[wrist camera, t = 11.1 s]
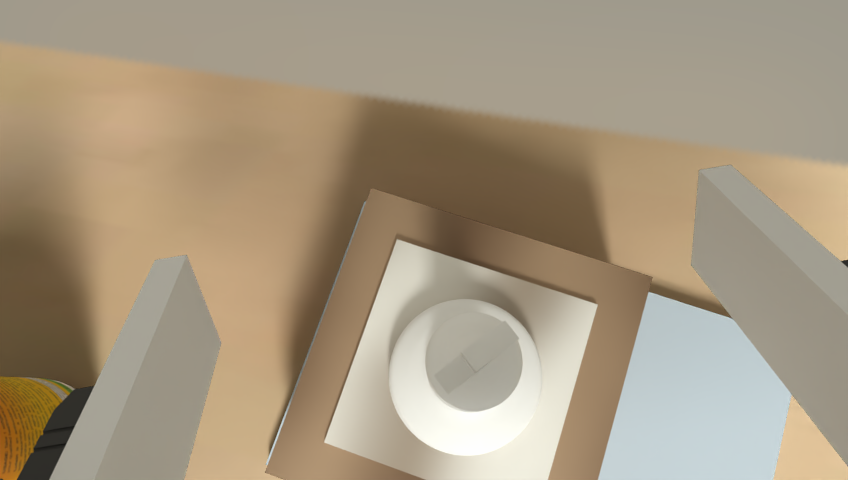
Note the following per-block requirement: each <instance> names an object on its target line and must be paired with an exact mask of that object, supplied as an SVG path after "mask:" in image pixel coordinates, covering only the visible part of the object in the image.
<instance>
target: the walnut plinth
mask: <svg viewBox="0 0 848 480" xmlns="http://www.w3.org/2000/svg"><path fill="white" fill-rule="evenodd" d="M651 281H652V277H651V276H647V275H644V274H641V273H638V272H635V271H632V270H629V269H625V268H622V267H619V266H616V265H613V264H610V263H607V262H603V261H600V260H597V259H594V258H591V257H588V256H584V255H581V254H578V253H575V252H572V251H569V250H566V249H562V248H559V247H556V246H553V245H550V244H547V243H543V242H540V241H537V240H534V239H531V238H528V237H525V236H521V235H518V234H515V233H512V232H509V231H506V230H503V229H499V228H496V227H493V226H490V225H487V224H484V223H480V222H477V221H474V220H471V219H468V218H465V217H462V216H458V215H455V214H452V213H449V212H446V211H443V210H439V209H436V208H433V207H430V206H427V205H424V204H421V203H417V202H414V201H411V200H408V199H405V198H402V197H399V196H395V195H392V194H389V193H386V192H383V191H380V190H376V189H373V188H371V190H370V193H369V195H368V198H367V201H366V203H365V206H364V209H363V212H362V214H361V217H360V220H359V222H358V225H357V228H356V230H355V233H354V236H353V238H352V241H351V244H350V246H349V249H348V252H347V254H346V257H345V260H344V262H343V265H342V268H341V270H340V273H339V276H338V278H337V281H336V284H335V286H334V289H333V292H332V294H331V297H330V300H329V302H328V305H327V308H326V310H325V313H324V316H323V318H322V321H321V324H320V326H319V329H318V332H317V334H316V337H315V340H314V342H313V345H312V348H311V350H310V353H309V356H308V358H307V361H306V364H305V366H304V369H303V372H302V374H301V377H300V380H299V383H298V385H297V388H296V391H295V393H294V396H293V399H292V401H291V404H290V407H289V409H288V412H287V415H286V417H285V420H284V423H283V425H282V428H281V431H280V433H279V436H278V439H277V441H276V444H275V447H274V449H273V452H272V455H271V457H270V460H269V463H268V465H267V468H266V471H265V473H268V474H270V475H273V476H276V477H278V478H281V479H284V480H598V477H599V474H600V470H601V466H602V463H603V459H604V455H605V452H606V448H607V444H608V440H609V437H610V433H611V429H612V426H613V422H614V418H615V414H616V411H617V407H618V403H619V400H620V396H621V392H622V389H623V385H624V381H625V377H626V374H627V370H628V366H629V363H630V359H631V355H632V352H633V348H634V344H635V340H636V337H637V333H638V329H639V326H640V322H641V318H642V314H643V311H644V307H645V303H646V300H647V296H648V292H649V289H650V285H651ZM457 299H473V300H480V301H484V302H487V303H490V304H493V305H495V306H498V307H500V308H501V309H503V310H505V311H507V312H508V313H509V314H511V315H512V316H513V317H515V318H516V319H517V320H518V321H519V322H520V323H521V324H522V325H523V327H524V328H525V329H526V330H527V332H528V333H529V335H530V336H531V338H532V340H533V342H534V344H535V346H536V348H537V351H538V354H539V357H540V361H541V367H542V390H541V396H540V400H539V403H538V406H537V408H536V411H535V413H534V415H533V417H532V419H531V420H530V422H529V423H528V425H527V426H526V427H525V428H524V430H523V431H522V432H521V433H520V434H519V435H518V436H517V437H516V438H514V439H513V440H512V441H511V442H509V443H508V444H506V445H504V446H503V447H501V448H499V449H496V450H494V451H491V452H488V453H485V454H480V455H472V456H461V455H453V454H448V453H445V452H442V451H439V450H437V449H434V448H432V447H430V446H429V445H427V444H425V443H424V442H422V441H421V440H420V439H418V438H417V437H416V436H415V435H414V434H413V433H412V432H411V431H410V430H409V429H408V428H407V427H406V425H405V424H404V423H403V421H402V420H401V418H400V417H399V415H398V413H397V411H396V409H395V406H394V404H393V401H392V397H391V393H390V387H389V365H390V360H391V355H392V352H393V349H394V347H395V344H396V342H397V340H398V338H399V337H400V335H401V333H402V332H403V330H404V329H405V328H406V327H407V325H408V324H409V323H410V322H411V321H412V320H413V319H414V318H415V317H417V316H418V315H419V314H420V313H422V312H423V311H425V310H426V309H428V308H430V307H432V306H434V305H437V304H439V303H442V302H446V301H451V300H457Z"/></svg>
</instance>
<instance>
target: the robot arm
mask: <svg viewBox="0 0 848 480" xmlns="http://www.w3.org/2000/svg"><path fill="white" fill-rule="evenodd" d="M691 266H692V267H693V268H694V270H695V271H696V272H697V273H698V275H699V276H700V277H701V279H702V280H703V281H704V282H705V284H706V285H707V286H708V288H709V289H710V290H711V291H712V293H713V294H714V295H715V297H716V298H717V299H718V300H719V302H720V303H721V304H722V306H723V307H724V308H725V309H726V311H727V312H728V313H729V314H730V316H731V317H732V318H733V320H734V321H735V322H736V323H737V325H738V326H739V327H740V329H741V330H742V331H743V332H744V334H745V335H746V336H747V338H748V339H749V340H750V341H751V343H752V344H753V345H754V347H755V348H756V349H757V350H758V352H759V353H760V354H761V356H762V357H763V358H764V359H765V361H766V362H767V363H768V365H769V366H770V367H771V368H772V370H773V371H774V372H775V374H776V375H777V376H778V377H779V379H780V380H781V381H782V383H783V384H784V385H785V386H786V388H787V389H788V390H789V392H790V393H791V394H792V395H793V397H794V398H795V399H796V400H797V402H798V403H799V404H800V406H801V407H802V408H803V409H804V411H805V412H806V413H807V415H808V416H809V417H810V418H811V420H812V421H813V422H814V424H815V425H816V426H817V427H818V429H819V430H820V431H821V433H822V434H823V435H824V436H825V438H826V439H827V440H828V442H829V443H830V444H831V445H832V447H833V448H834V449H835V451H836V452H837V453H838V454H839V456H840V457H841V458H842V460H843V461H844V462H845V463H846V465H847V466H848V260H844V261H840V260H839V259H838V258H836V257H835V256H834V255H833V254H832V253H831V252H830V251H828V250H827V249H826V248H825V247H824V246H823V245H822V244H820V243H819V242H818V241H817V240H816V239H815V238H814V237H812V236H811V235H810V234H809V233H808V232H807V231H806V230H804V229H803V228H802V227H801V226H800V225H799V224H798V223H796V222H795V221H794V220H793V219H792V218H791V217H790V216H789V215H787V214H786V213H785V212H784V211H783V210H782V209H781V208H779V207H778V206H777V205H776V204H775V203H774V202H773V201H771V200H770V199H769V198H768V197H767V196H766V195H765V194H763V193H762V192H761V191H760V190H759V189H758V188H757V187H755V186H754V185H753V184H752V183H751V182H750V181H749V180H747V179H746V178H745V177H744V176H743V175H742V174H741V173H739V172H738V171H737V170H736V169H735V168H734V167H733V166H732V165H727V166H720V167H714V168H708V169H702V170H699V176H698V188H697V200H696V212H695V224H694V236H693V248H692V260H691ZM220 346H221V341H220V338H219V336H218V333H217V330H216V328H215V325H214V323H213V320H212V318H211V315H210V313H209V310H208V308H207V305H206V302H205V300H204V297H203V295H202V292H201V290H200V287H199V285H198V282H197V280H196V277H195V274H194V272H193V269H192V267H191V264H190V262H189V259H188V257H187V255H183V256H177V257H171V258H165V259H159V260H155V262H154V264H153V266H152V268H151V270H150V272H149V274H148V276H147V278H146V280H145V282H144V284H143V286H142V288H141V291H140V293H139V295H138V297H137V299H136V301H135V303H134V305H133V307H132V309H131V311H130V313H129V315H128V318H127V320H126V322H125V324H124V326H123V328H122V330H121V332H120V334H119V336H118V338H117V340H116V342H115V344H114V347H113V349H112V351H111V353H110V355H109V357H108V359H107V361H106V363H105V365H104V367H103V369H102V371H101V373H100V376H99V378H98V380H97V382H96V384H95V386H92V387H86V388H80V389H74V390H73V391H72V392H71V393H70V394H69V395H68V396H67V397H66V398H65V399H64V400H63V401H62V402H61V403H60V404H59V405H58V406H57V407H56V408H55V409H54V411H53V413H52V415H51V416H50V418H49V420H48V422H47V424H46V426H45V428H44V430H43V435H40V437H39V439H38V441H37V443H36V445H35V446H34V448H33V449H34V453H31V454H30V456H29V458H28V460H27V461H26V463H25V465H24V467H23V469H22V471H21V473H20V475H19V476H18V478H17V480H184V478H185V474H186V471H187V467H188V463H189V460H190V456H191V452H192V449H193V445H194V441H195V438H196V434H197V430H198V427H199V423H200V419H201V416H202V412H203V408H204V405H205V401H206V397H207V394H208V390H209V386H210V383H211V379H212V375H213V372H214V368H215V364H216V361H217V357H218V353H219V350H220ZM0 480H3V479H1V478H0Z"/></svg>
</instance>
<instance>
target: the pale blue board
mask: <svg viewBox="0 0 848 480" xmlns="http://www.w3.org/2000/svg"><path fill="white" fill-rule="evenodd" d="M365 203H366V201H364V204H363V207H362V209H361V212H360V215H359V217H358V220H357V223H356V225H355V228H354V231H353V233H352V236H351V239H350V241H349V244H348V247H347V249H346V252H345V255H344V257H343V260H342V263H341V265H340V268H339V271H338V273H337V276H336V279H335V281H334V284H333V287H332V289H331V292H330V295H329V297H328V300H327V303H326V305H325V308H324V311H323V313H322V316H321V319H320V321H319V324H318V327H317V329H316V332H315V335H314V337H313V340H312V343H311V345H310V348H309V351H308V353H307V356H306V359H305V361H304V364H303V367H302V369H301V372H300V375H299V377H298V380H297V383H296V385H295V388H294V391H293V393H292V396H291V399H290V401H289V404H288V407H287V409H286V412H285V415H284V417H283V420H282V423H281V425H280V428H279V431H278V433H277V436H276V439H275V441H274V444H273V447H272V449H271V452H270V455H269V457H268V460H267V463H266V465H268V463H269V460H270V457H271V455H272V452H273V449H274V447H275V444H276V441H277V439H278V436H279V433H280V431H281V428H282V425H283V423H284V420H285V417H286V415H287V412H288V409H289V407H290V404H291V401H292V399H293V396H294V393H295V391H296V388H297V385H298V383H299V380H300V377H301V374H302V372H303V369H304V366H305V364H306V361H307V358H308V356H309V353H310V350H311V348H312V345H313V342H314V340H315V337H316V334H317V332H318V329H319V326H320V324H321V321H322V318H323V316H324V313H325V310H326V308H327V305H328V302H329V300H330V297H331V294H332V292H333V289H334V286H335V284H336V281H337V278H338V276H339V273H340V270H341V268H342V265H343V262H344V260H345V257H346V254H347V252H348V249H349V246H350V244H351V241H352V238H353V236H354V233H355V230H356V228H357V225H358V222H359V220H360V217H361V214H362V212H363V209H364V206H365ZM791 395H792V394H791V393H790V392H789V390H788V389H787V388H786V386H785V385H784V384H783V383H782V381H781V380H780V379H779V377H778V376H777V375H776V374H775V372H774V371H773V370H772V368H771V367H770V366H769V365H768V363H767V362H766V361H765V359H764V358H763V357H762V356H761V354H760V353H759V352H758V350H757V349H756V348H755V347H754V345H753V344H752V343H751V341H750V340H749V339H748V338H747V336H746V335H745V334H744V332H743V331H742V330H741V329H740V327H739V326H738V325H737V323H736V322H735V321H734V320H733V319H732V318H729V317H726V316H723V315H720V314H716V313H713V312H710V311H707V310H704V309H701V308H698V307H695V306H691V305H688V304H685V303H682V302H679V301H676V300H673V299H670V298H666V297H663V296H660V295H657V294H654V293H651V292H648V296H647V300H646V303H645V307H644V311H643V314H642V318H641V322H640V326H639V329H638V333H637V337H636V340H635V344H634V348H633V352H632V355H631V359H630V363H629V366H628V370H627V374H626V377H625V381H624V385H623V389H622V392H621V396H620V400H619V403H618V407H617V411H616V414H615V418H614V422H613V426H612V429H611V433H610V437H609V440H608V444H607V448H606V452H605V455H604V459H603V463H602V466H601V470H600V474H599V477H598V480H773V478H774V474H775V469H776V464H777V460H778V455H779V450H780V446H781V441H782V436H783V432H784V427H785V423H786V418H787V413H788V409H789V404H790V399H791Z"/></svg>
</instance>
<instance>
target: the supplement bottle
mask: <svg viewBox="0 0 848 480" xmlns="http://www.w3.org/2000/svg"><path fill="white" fill-rule="evenodd" d="M73 390H74V388H73V387H71V386H69V385H67V384H65V383H62V382H60V381H56V380H51V379H44V378H29V377H0V478H1V479H3V480H17V478H18V476H19V475H20V473H21V471H22V469H23V467H24V465H25V463H26V461H27V460H28V458H29V456H30V454H31V453H34V449H33V448H34V446H35V445H36V443H37V441H38V439H39V437H40V435H43V430H44V428H45V426H46V424H47V422H48V420H49V418H50V416H51V415H52V413H53V411H54V409H55V408H56V407H57V406H58V405H59V404H60V403H61V402H62V401H63V400H64V399H65V398H66V397H67V396H68V395H69V394H70V393H71V392H72V391H73Z"/></svg>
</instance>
